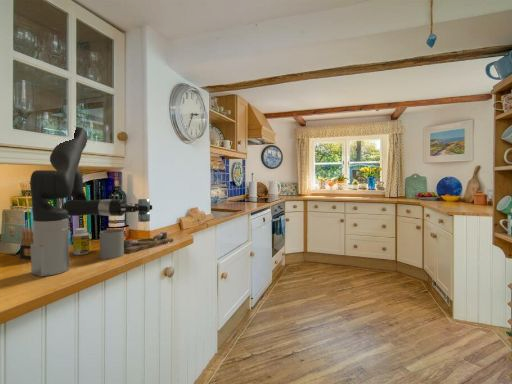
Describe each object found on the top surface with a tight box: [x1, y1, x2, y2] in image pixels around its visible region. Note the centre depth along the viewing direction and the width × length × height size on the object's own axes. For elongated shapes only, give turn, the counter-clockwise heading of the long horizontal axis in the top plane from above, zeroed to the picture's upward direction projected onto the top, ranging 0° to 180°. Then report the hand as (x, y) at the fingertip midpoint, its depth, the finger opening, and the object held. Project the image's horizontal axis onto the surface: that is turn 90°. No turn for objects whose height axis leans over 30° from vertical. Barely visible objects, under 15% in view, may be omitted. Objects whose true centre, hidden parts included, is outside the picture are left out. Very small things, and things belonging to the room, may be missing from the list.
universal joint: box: [137, 198, 151, 223], centre depth 123 cm, size 5×5×10 cm
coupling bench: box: [124, 231, 174, 254], centre depth 124 cm, size 24×10×4 cm, turn 152°
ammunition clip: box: [19, 226, 34, 260], centre depth 102 cm, size 11×2×12 cm, turn 78°
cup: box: [99, 228, 125, 260], centre depth 107 cm, size 8×8×10 cm
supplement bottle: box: [72, 227, 90, 256], centre depth 110 cm, size 6×6×10 cm
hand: (149, 208), depth 124 cm, fingers closed on universal joint, 5 cm apart
